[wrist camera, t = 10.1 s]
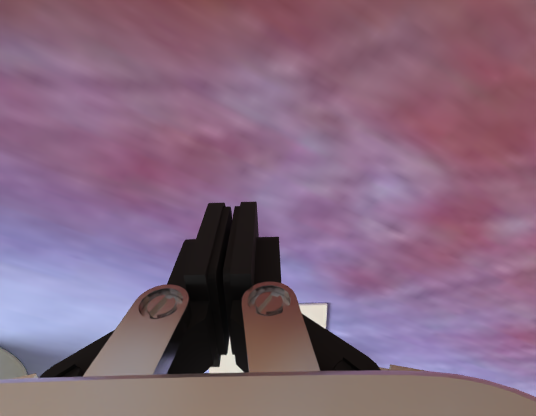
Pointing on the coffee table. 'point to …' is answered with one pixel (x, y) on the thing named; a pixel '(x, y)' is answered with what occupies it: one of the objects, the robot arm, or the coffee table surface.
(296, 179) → the coffee table surface
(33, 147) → the coffee table surface
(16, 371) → the can
